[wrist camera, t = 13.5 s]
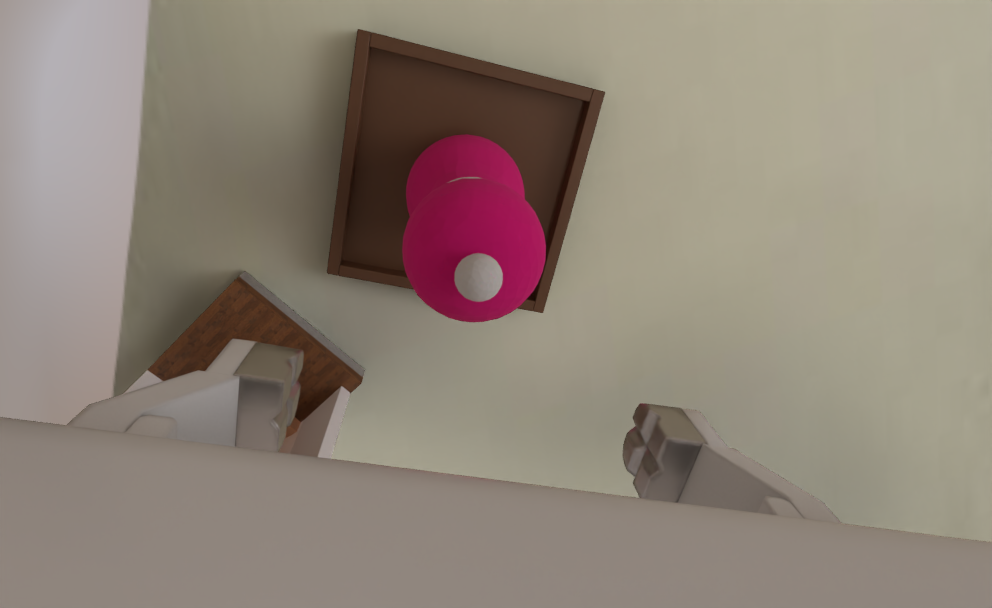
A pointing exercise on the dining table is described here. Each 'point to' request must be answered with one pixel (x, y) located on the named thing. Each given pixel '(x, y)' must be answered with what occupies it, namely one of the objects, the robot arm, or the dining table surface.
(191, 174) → the dining table surface
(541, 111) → the serving tray
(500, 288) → the pepper mill
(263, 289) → the two-tier shelf stand
